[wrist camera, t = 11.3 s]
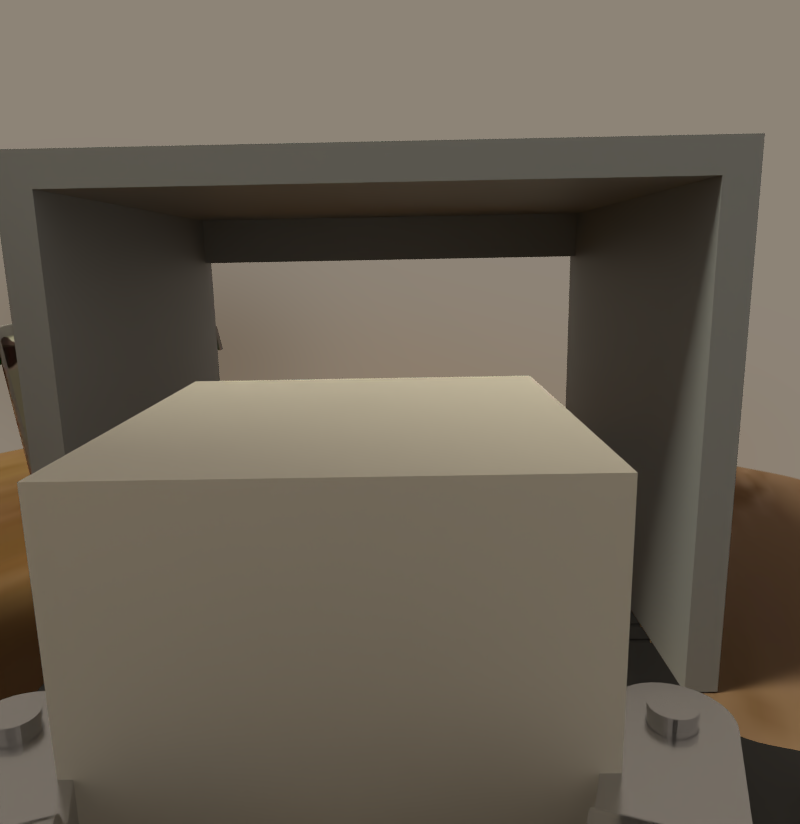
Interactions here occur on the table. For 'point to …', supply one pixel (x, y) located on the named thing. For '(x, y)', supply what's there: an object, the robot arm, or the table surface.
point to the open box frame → (420, 239)
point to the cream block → (336, 605)
